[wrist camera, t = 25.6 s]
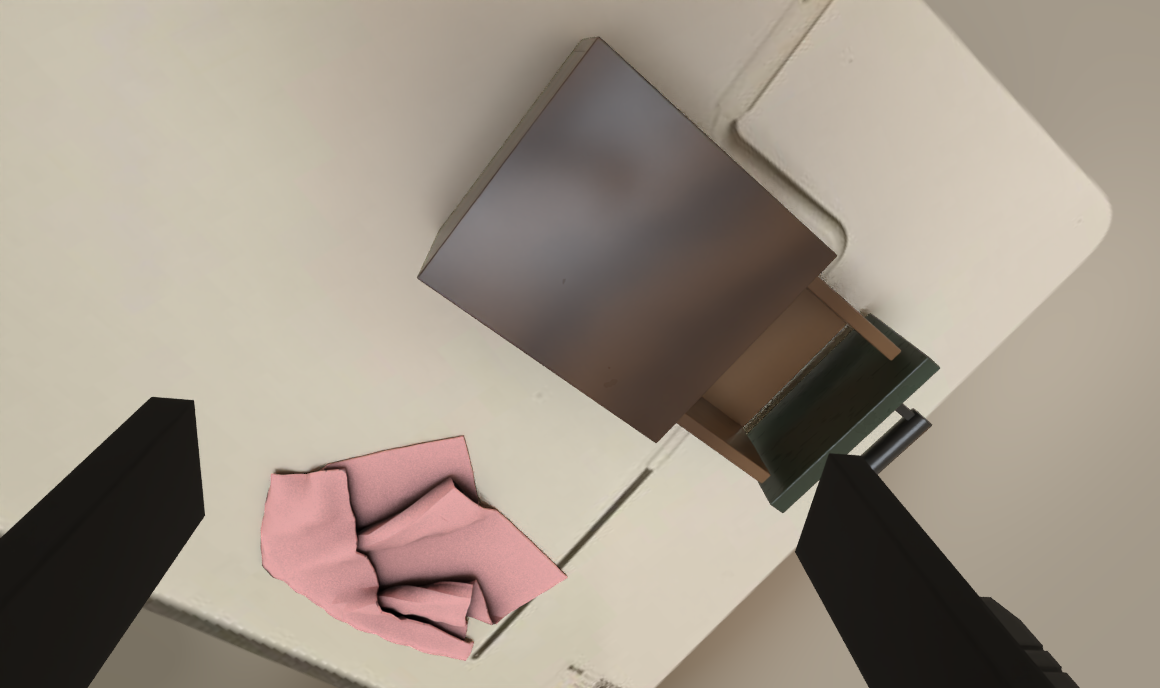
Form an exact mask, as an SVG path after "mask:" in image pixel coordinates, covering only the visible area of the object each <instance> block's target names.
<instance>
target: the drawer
mask: <svg viewBox="0 0 1160 688" xmlns="http://www.w3.org/2000/svg"><path fill="white" fill-rule="evenodd" d="M846 324H848V325H849V326H850V327H851V328H852V329H853V330H852V331H851V332H850V333H849V334H848V335H847V336H846V337H845V338H844V339H843V340H842V341H841V342H840V343H839V344H838V345H837V346H836V347H835V348H834V349H833V350H832V351H831V352H830V353H829V354H828V355H827V356H826V357H825V358H824V359H823V360H822V361H821V362H820V363H819V364H818V365H817V366H816V367H815V368H814V369H813V370H812V371H811V372H810V373H809V374H808V375H807V376H806V377H805V378H804V379H803V380H802V381H801V382H799V383H798V384H797V385H796V386H795V387H794V388H793V389H792V390H791V391H790V392H789V393H788V394H787V395H786V396H785V397H784V398H783V399H782V400H781V401H780V402H779V403H778V404H777V405H776V406H775V407H774V408H773V409H772V410H771V411H770V412H769V413H768V414H767V415H766V416H765V417H764V418H763V419H762V420H761V421H760V422H759V423H758V424H757V425H756V426H755V427H754V428H753V429H752V430H751V431H750V432H749V433H748V434H746V432H745V430H744V428H743V427H744V426H745V425H746V424H747V423H748V422H749V421H750V420H751V419H752V418H753V417H754V416H755V415H756V414H757V413H758V412H759V411H760V410H761V409H762V408H763V407H764V406H765V405H766V404H767V403H768V402H769V401H770V400H771V399H772V398H773V397H774V396H775V395H776V394H777V393H778V392H779V391H780V390H781V389H782V388H783V387H784V386H785V385H786V384H787V383H788V382H789V381H790V380H791V379H792V378H793V377H794V376H795V375H796V374H797V373H798V372H799V371H800V370H801V369H802V368H803V367H804V366H805V365H806V364H807V363H808V362H809V361H810V360H811V359H812V358H813V357H814V356H815V355H816V354H817V353H818V352H819V351H820V350H821V349H822V348H823V347H824V346H825V345H826V344H827V343H828V342H829V341H830V340H831V339H832V338H833V337H834V336H835V335H836V334H837V333H838V332H839V331H840V330H841V329H842V328H843V327H844V326H845V325H846ZM939 369H940V367H939V366H938V365H937V364H936V363H935V362H934V361H933V360H932V359H931V358H929V357H928V356H927V355H926V354H924V353H923V352H922V351H920V350H919V349H918V348H916V347H915V346H914V345H912V344H911V343H910V342H908V341H907V340H906V339H905V338H903V337H902V336H901V335H899V334H898V333H897V332H895V331H894V330H893V329H891V328H890V327H889V326H887V325H886V324H885V323H883V322H882V321H881V320H879V319H878V318H877V317H875V316H874V315H873V314H871V313H870V314H868V315H867V316H866V317H863V316H862V315H861V314H860V313H859V312H858V311H857V310H856V309H854V308H853V307H852V306H851V305H850V304H849V303H848V302H847V301H845V300H844V299H843V298H842V297H841V296H840V295H839V294H838V293H837V292H835V291H834V290H833V289H832V288H831V287H830V286H829V285H828V284H826V283H825V282H824V281H823V280H822V279H821V278H820V277H819V276H817V277H816V278H815V280H814V281H813V282H812V283H811V284H810V285H809V286H808V287H807V288H806V289H805V290H804V291H803V292H802V293H801V294H800V295H799V296H798V297H797V298H796V299H795V300H794V301H793V302H792V303H791V304H790V305H789V306H788V307H787V309H786V310H785V311H784V312H783V313H782V314H781V315H780V316H779V317H778V318H777V319H776V320H775V321H774V322H773V323H772V324H771V325H770V326H769V327H768V328H767V329H766V330H765V331H764V332H763V333H762V334H761V335H760V337H759V338H758V339H757V340H756V341H755V342H754V343H753V344H752V345H751V346H750V347H749V348H748V349H747V350H746V351H745V352H744V353H743V354H742V355H741V356H740V357H739V358H738V359H737V360H736V361H735V362H734V363H733V364H732V366H731V367H730V368H729V369H728V370H727V371H726V372H725V373H724V374H723V375H722V376H721V377H720V378H719V379H718V380H717V381H716V382H715V383H714V384H713V385H712V386H711V387H710V388H709V389H708V390H707V391H706V392H705V394H704V395H703V396H702V397H701V398H700V399H699V400H698V401H697V402H696V403H695V404H694V405H693V406H692V407H691V408H690V409H689V410H688V411H687V412H686V413H685V414H684V415H683V416H682V417H681V418H680V419H679V420H678V421H677V424H679V425H680V426H681V427H683V428H684V429H686V430H687V431H688V432H690V433H691V434H693V435H694V436H695V437H697V438H698V439H700V440H701V441H703V442H704V443H705V444H707V445H708V446H710V447H711V448H712V449H714V450H715V451H717V452H718V453H719V454H721V455H722V456H724V457H725V458H726V459H728V460H729V461H731V462H732V463H733V464H735V465H736V466H738V467H739V468H740V469H742V470H743V471H745V472H746V473H747V474H749V475H750V476H752V477H753V478H754V479H756V480H757V481H758V483H759V485H760V487H761V488H762V490H763V492H764V494H765V496H766V498H767V499H768V501H769V503H770V505H772V506H773V507H775V508H776V509H777V510H779V511H780V512H782V513H784V512H785V511H786V510H787V509H788V508H789V507H790V506H792V505H793V504H794V503H795V502H796V501H797V500H798V499H799V498H800V497H801V496H802V495H804V494H805V493H806V492H807V491H808V490H809V489H810V488H811V487H812V486H813V485H814V484H815V483H817V482H818V481H819V480H820V478H821V475H822V472H823V469H824V466H825V463H826V460H827V457H828V454H829V453H834V454H846V455H847V454H848V453H849V452H850V451H851V450H852V449H853V448H854V447H856V446H857V445H858V444H859V443H860V442H861V441H862V440H863V439H864V438H865V437H866V436H867V435H869V434H870V433H871V432H872V431H873V430H874V429H875V428H876V427H877V426H878V425H879V424H881V423H882V422H883V421H884V420H885V419H886V418H887V417H888V416H889V415H890V414H891V413H892V412H894V411H896V412H898V413H899V414H900V415H901V416H902V418H901V419H900V420H899V421H898V422H897V423H896V424H895V425H894V426H892V427H891V428H890V429H889V430H888V431H887V432H886V433H885V434H884V435H883V436H882V437H880V438H879V439H878V440H877V441H876V442H875V443H874V444H873V445H872V446H871V447H869V448H868V449H867V450H866V451H865V452H864V453H863V454H862V455H861V456H862V457H863V458H864V459H865V461H866V462H867V463H868V464H869V465H870V467H871V468H872V469H873V470H874V471H875V473H876V474H877V475H878V474H879V473H880V472H881V471H882V470H883V469H884V468H885V467H886V466H887V465H889V464H890V463H891V462H892V461H893V460H894V459H895V458H896V457H898V456H899V455H900V454H901V453H902V452H903V451H904V450H906V449H907V448H908V447H909V446H910V445H911V444H912V443H913V442H914V441H915V440H917V439H918V438H919V437H920V436H921V435H922V434H923V433H924V432H926V431H927V430H928V429H929V428H930V427H931V426H932V424H931V423H930V422H929V421H928V420H927V419H926V418H925V417H923V416H922V415H921V414H920V413H919V412H918V411H916V410H915V409H914V408H912V409H911V410H910V409H909V408H908V407H906V406H905V405H904V404H903V402H904V401H905V400H907V399H908V398H909V397H910V396H911V395H912V394H913V393H914V392H915V391H916V390H917V389H918V388H920V387H921V386H922V385H923V384H924V383H925V382H926V381H927V380H928V379H929V378H930V377H931V376H933V375H934V374H935V373H936V372H937V371H938V370H939Z"/></svg>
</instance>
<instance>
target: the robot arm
mask: <svg viewBox="0 0 1160 688" xmlns="http://www.w3.org/2000/svg"><path fill="white" fill-rule="evenodd" d="M204 516H205V510H204V500H203V489H202V479H201V469H200V458H199V448H198V437H197V427H196V417H195V406H194V400H184V399H172V398H160V397H151V398H150V399H149V400H148V401H147V402H146V403H144V404H143V405H142V406H141V407H140V408H139V409H138V410H137V411H136V412H135V413H134V414H133V415H132V416H131V417H129V418H128V419H127V420H126V421H125V422H124V423H123V424H122V425H121V426H120V427H119V428H118V429H117V430H116V431H115V432H113V433H112V434H111V435H110V436H109V437H108V438H107V439H106V440H105V441H104V442H103V443H102V444H101V445H100V446H99V447H97V448H96V449H95V450H94V451H93V452H92V453H91V454H90V455H89V456H88V457H87V458H86V459H85V460H84V461H82V462H81V463H80V464H79V465H78V466H77V467H76V468H75V469H74V470H73V471H72V472H71V473H70V474H69V475H68V476H66V477H65V478H64V479H63V480H62V481H61V482H60V483H59V484H58V485H57V486H56V487H55V488H54V489H53V490H51V491H50V492H49V493H48V494H47V495H46V496H45V497H44V498H43V499H42V500H41V501H40V502H39V503H38V504H37V505H35V506H34V507H33V508H32V509H31V510H30V511H29V512H28V513H27V514H26V515H25V516H24V517H23V518H22V519H20V520H19V521H18V522H17V523H16V524H15V525H14V526H13V527H12V528H11V529H10V530H9V531H8V532H7V533H6V534H4V535H3V536H2V537H1V538H0V688H88V686H89V685H90V683H91V682H92V680H93V679H94V678H95V676H96V674H97V673H98V672H99V670H100V669H101V667H102V666H103V664H104V663H105V661H106V660H107V658H108V657H109V655H110V654H111V653H112V651H113V650H114V648H115V647H116V645H117V644H118V642H119V641H120V639H121V638H122V636H123V635H124V633H125V632H126V630H127V629H128V628H129V626H130V624H131V623H132V622H133V620H134V619H135V617H136V616H137V614H138V613H139V611H140V610H141V609H142V607H143V606H144V604H145V603H146V601H147V600H148V598H149V597H150V595H151V594H152V592H153V591H154V589H155V588H156V587H157V585H158V584H159V582H160V581H161V579H162V578H163V576H164V575H165V573H166V572H167V570H168V569H169V567H170V566H171V565H172V563H173V562H174V560H175V559H176V557H177V556H178V554H179V553H180V551H181V550H182V548H183V547H184V545H185V544H186V543H187V541H188V540H189V538H190V537H191V535H192V534H193V532H194V531H195V529H196V528H197V526H198V525H199V523H200V522H201V521H202V519H203V518H204ZM795 553H796V555H797V556H798V558H799V560H800V562H801V563H802V566H803V567H804V569H805V571H806V573H807V575H808V577H809V578H810V580H811V582H812V584H813V586H814V587H815V589H816V591H817V593H818V595H819V597H820V598H821V600H822V602H823V604H824V606H825V608H826V610H827V611H828V613H829V615H830V617H831V619H832V621H833V622H834V624H835V626H836V628H837V630H838V632H839V633H840V635H841V637H842V639H843V641H844V643H845V644H846V646H847V648H848V650H849V652H850V654H851V655H852V657H853V659H854V661H855V663H856V664H857V667H858V668H859V670H860V672H861V674H862V676H863V678H864V679H865V681H866V683H867V685H868V687H869V688H1079V686H1077V684H1076V683H1075V682H1074V681H1073V680H1072V678H1071V677H1070V676H1069V675H1068V674H1067V673H1063V672H1062V670H1061V668H1062V667H1061V666H1060V665H1059V664H1058V662H1057V661H1056V660H1055V659H1054V658H1053V657H1052V656H1051V654H1050V653H1049V652H1048V651H1044V650H1043V645H1042V644H1041V643H1040V642H1039V641H1038V640H1037V639H1036V637H1035V636H1034V635H1033V634H1032V633H1031V632H1030V631H1029V629H1028V628H1027V627H1026V626H1025V625H1024V624H1023V622H1022V621H1021V620H1019V619H1018V618H1017V617H1016V616H1014V615H1013V614H1012V613H1010V612H1009V611H1008V610H1007V609H1005V608H1004V607H1003V606H1001V605H1000V604H999V603H997V602H996V601H995V600H993V599H992V598H991V597H979V596H978V595H977V593H976V592H975V591H974V590H973V588H972V587H971V586H970V585H969V584H968V582H967V581H966V580H965V579H964V578H963V577H962V575H961V574H960V573H959V572H958V571H957V569H956V568H955V567H954V566H953V565H952V563H951V562H950V561H949V560H948V559H947V557H946V556H945V555H944V554H943V553H942V551H941V550H940V549H939V548H938V547H937V545H936V544H935V543H934V542H933V541H932V539H931V538H930V537H929V536H928V535H927V533H926V532H925V531H924V530H923V529H922V528H921V527H920V525H919V524H918V523H917V522H916V520H915V519H914V518H913V517H912V516H911V514H910V513H909V512H908V511H907V510H906V508H905V507H904V506H903V505H902V504H901V502H900V501H899V500H898V499H897V498H896V496H895V495H894V494H893V493H892V492H891V491H890V489H889V488H888V487H887V486H886V485H885V483H884V482H883V481H882V480H881V479H880V477H879V476H878V475H877V474H876V473H875V471H874V470H873V469H872V468H871V467H870V465H869V464H868V463H867V462H866V461H865V459H864V458H863V457H862V456H858V455H846V454H834V453H829V454H828V457H827V460H826V463H825V466H824V469H823V472H822V475H821V478H820V481H819V484H818V487H817V489H816V492H815V495H814V498H813V501H812V504H811V507H810V510H809V513H808V516H807V519H806V521H805V524H804V527H803V530H802V533H801V536H800V539H799V542H798V545H797V548H796V551H795Z"/></svg>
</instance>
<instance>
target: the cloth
mask: <svg viewBox="0 0 1160 688" xmlns="http://www.w3.org/2000/svg"><path fill="white" fill-rule="evenodd" d="M261 553H262V566H263V567H264V568H265V570H266V571H267V572H268V573H269V574H270V575H271V576H272V577H273V578H276V579H279V580H282V581H284V582H285V583H287V584H288V585H289V586H290V587H291V588H292V589H293V590H294V591H295V592H297V593H299V594H302V595H305V596H306V597H307V598H308V599H309V600H311V601H312V602H313V603H315V604H316V605H318V606H320V607H322V608H323V609H325V611H326V612H327V613H328V614H329V615H331V616H332V617H334V618H335V619H338V620H340V621H342V622H345V623H348V624H349V625H351V626H352V627H354V628H355V629H357V630H360V631H363V632H367V633H372V634H377V635H379V636H380V637H382V638H384V639H385V640H387V641H390V642H393V643H396V644H400V645H405V646H411V647H413V648H414V649H416V650H419V651H421V652H424V653H428V654H433V655H440V656H446V657H451V658H455V659H459V660H464V661H466V660H467V658H468V656H469V655H470V653H471V650H472V647H473V644H474V642H468V643H467V642H465V636H466V631H467V624H468V622H467V621H465V616H469V617H473V618H475V619H478V620H480V621H483V622H485V623H488V624H490V625H493V624H497V623H498V622H499V621H500V620H501V619H502V618H503V617H505V616H506V615H507V614H509V613H510V612H512V611H513V610H515V609H517V608H518V607H520V606H522V605H523V604H525V603H527V602H528V601H530V600H532V599H533V598H535V597H537V596H538V595H540V594H542V593H544V592H545V591H547V590H549V589H550V588H552V587H553V586H555V585H556V584H558V583H560V582H561V581H563V580H565V579H566V578H567V576H566V575H565V574H564V573H563V572H562V571H561V570H560V569H559V568H558V567H557V566H556V565H555V564H554V563H553V562H552V561H551V560H550V559H549V558H548V557H547V556H546V555H545V554H544V553H543V552H542V551H541V550H540V549H539V548H537V547H536V546H535V545H534V544H533V543H532V542H531V541H530V540H529V539H528V538H527V537H526V536H525V535H524V534H523V533H522V532H521V531H519V530H518V529H517V528H516V527H515V526H514V525H513V524H512V523H511V522H510V521H509V520H508V519H507V518H506V517H504V516H503V515H502V514H501V513H500V512H498V511H497V510H494V509H489V508H483V507H481V506H479V500H478V495H477V491H476V487H475V483H474V476H473V471H472V467H471V462H470V458H469V454H468V450H467V447H466V443H465V439H464V436H459V437H454V438H448V439H443V440H437V441H432V442H426V443H421V444H416V445H411V446H407V447H401V448H395V449H390V450H385V451H380V452H377V453H373V454H369V455H365V456H361V457H356V458H351V459H347V460H343V461H338V462H334V463H329V464H327V465H326V466H325V467H323V468H322V469H320V470H319V471H318V472H313V473H309V474H288V475H279V474H276V473H275V474H271V485H270V488H269V491H268V494H267V498H266V502H265V513H264V517H263V520H262V526H261Z"/></svg>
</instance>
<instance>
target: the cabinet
mask: <svg viewBox="0 0 1160 688" xmlns="http://www.w3.org/2000/svg"><path fill="white" fill-rule="evenodd" d="M836 257H837V255H836V254H835V253H834V252H833V251H832V250H831V249H830V248H829V247H828V246H827V245H825V244H824V243H823V242H822V241H821V240H820V239H819V238H818V237H817V236H816V235H815V234H814V233H812V232H811V231H810V230H809V229H808V228H807V227H806V226H805V225H804V224H803V223H802V222H800V221H799V220H798V219H797V218H796V217H795V216H794V215H793V214H792V213H791V212H790V211H788V210H787V209H786V208H785V207H784V206H783V205H782V204H781V203H780V202H779V201H778V200H777V199H775V198H774V197H773V196H772V195H771V194H770V193H769V192H768V191H767V190H766V189H765V188H763V187H762V186H761V185H760V184H759V183H758V182H757V181H756V180H755V179H754V178H753V177H751V176H750V175H749V174H748V173H747V172H746V171H745V170H744V169H743V168H742V167H741V166H740V165H738V164H737V163H736V162H735V161H734V160H733V159H732V158H731V157H730V156H729V155H728V154H726V153H725V152H724V151H723V150H722V149H721V148H720V147H719V146H718V145H717V144H716V143H714V142H713V141H712V140H711V139H710V138H709V137H708V136H707V135H706V134H705V133H704V132H703V131H701V130H700V129H699V128H698V127H697V126H696V125H695V124H694V123H693V122H692V121H691V120H689V119H688V118H687V117H686V116H685V115H684V114H683V113H682V112H681V111H680V110H679V109H677V108H676V107H675V106H674V105H673V104H672V103H671V102H670V101H669V100H668V99H667V98H666V97H664V96H663V95H662V94H661V93H660V92H659V91H658V90H657V89H656V88H655V87H654V86H652V85H651V84H650V83H649V82H648V81H647V80H646V79H645V78H644V77H643V76H642V75H640V74H639V73H638V72H637V71H636V70H635V69H634V68H633V67H632V66H631V65H630V64H629V63H627V62H626V61H625V60H624V59H623V58H622V57H621V56H620V55H619V54H618V53H617V52H615V51H614V50H613V49H612V48H611V47H610V46H609V45H608V44H607V43H606V42H605V41H603V40H602V39H601V38H600V37H592V38H586V39H582V40H581V41H580V42H579V43H578V45H577V46H576V47H575V49H574V50H573V51H572V53H571V54H570V56H569V57H568V58H567V60H566V61H565V62H564V64H563V65H562V66H561V68H560V69H559V70H558V72H557V73H556V74H555V76H554V77H553V78H552V80H551V81H550V82H549V84H548V85H547V86H546V88H545V89H544V90H543V92H542V93H541V94H540V96H539V97H538V99H537V100H536V101H535V103H534V104H533V105H532V107H531V108H530V109H529V111H528V112H527V113H526V115H525V116H524V117H523V119H522V120H521V121H520V123H519V124H518V125H517V127H516V128H515V129H514V131H513V132H512V133H511V135H510V136H509V138H508V139H507V140H506V142H505V143H504V144H503V146H502V147H501V148H500V150H499V151H498V152H497V154H496V155H495V156H494V158H493V159H492V160H491V162H490V163H489V164H488V166H487V167H486V168H485V170H484V171H483V172H482V174H481V175H480V176H479V178H478V179H477V181H476V182H475V183H474V185H473V186H472V187H471V189H470V190H469V191H468V193H467V194H466V195H465V197H464V198H463V199H462V201H461V202H460V203H459V205H458V206H457V207H456V209H455V210H454V211H453V213H452V214H451V215H450V217H449V218H448V220H447V221H446V222H445V224H444V225H443V226H442V228H441V229H440V230H439V232H438V233H437V236H436V238H435V240H434V242H433V244H432V246H431V248H430V251H429V253H428V255H427V257H426V259H425V261H424V264H423V266H422V268H421V270H420V272H419V274H418V277H417V278H418V279H419V280H420V281H422V282H423V283H425V284H426V285H428V286H429V287H430V288H432V289H433V290H435V291H436V292H438V293H439V294H441V295H442V296H443V297H445V298H446V299H448V300H449V301H451V302H452V303H454V304H455V305H456V306H458V307H459V308H461V309H462V310H464V311H465V312H467V313H468V314H470V315H471V316H472V317H474V318H475V319H477V320H478V321H480V322H481V323H483V324H484V325H485V326H487V327H488V328H490V329H491V330H493V331H494V332H496V333H497V334H498V335H500V336H501V337H503V338H504V339H506V340H507V341H509V342H510V343H511V344H513V345H514V346H516V347H517V348H519V349H520V350H522V351H523V352H525V353H526V354H527V355H529V356H530V357H532V358H533V359H535V360H536V361H538V362H539V363H540V364H542V365H543V366H545V367H546V368H548V369H549V370H551V371H552V372H553V373H555V374H556V375H558V376H559V377H561V378H562V379H564V380H565V381H567V382H568V383H569V384H571V385H572V386H574V387H575V388H577V389H578V390H580V391H581V392H582V393H584V394H585V395H587V396H588V397H590V398H591V399H593V400H594V401H595V402H597V403H598V404H600V405H601V406H603V407H604V408H606V409H607V410H609V411H610V412H611V413H613V414H614V415H616V416H617V417H619V418H620V419H622V420H623V421H624V422H626V423H627V424H629V425H630V426H632V427H633V428H635V429H636V430H637V431H639V432H640V433H642V434H643V435H645V436H646V437H648V438H649V439H651V440H652V441H653V442H655V443H657V442H658V441H659V440H660V439H661V438H662V437H663V436H664V435H665V434H666V433H667V432H668V431H669V430H670V429H671V428H672V427H673V426H674V425H675V424H676V423H677V421H678V420H679V419H680V418H681V417H682V416H683V415H684V414H685V413H686V412H687V411H688V410H689V409H690V408H691V407H692V406H693V405H694V404H695V403H696V402H697V401H698V400H699V399H700V398H701V397H702V396H703V395H704V394H705V392H706V391H707V390H708V389H709V388H710V387H711V386H712V385H713V384H714V383H715V382H716V381H717V380H718V379H719V378H720V377H721V376H722V375H723V374H724V373H725V372H726V371H727V370H728V369H729V368H730V367H731V366H732V364H733V363H734V362H735V361H736V360H737V359H738V358H739V357H740V356H741V355H742V354H743V353H744V352H745V351H746V350H747V349H748V348H749V347H750V346H751V345H752V344H753V343H754V342H755V341H756V340H757V339H758V338H759V337H760V335H761V334H762V333H763V332H764V331H765V330H766V329H767V328H768V327H769V326H770V325H771V324H772V323H773V322H774V321H775V320H776V319H777V318H778V317H779V316H780V315H781V314H782V313H783V312H784V311H785V310H786V309H787V307H788V306H789V305H790V304H791V303H792V302H793V301H794V300H795V299H796V298H797V297H798V296H799V295H800V294H801V293H802V292H803V291H804V290H805V289H806V288H807V287H808V286H809V285H810V284H811V283H812V282H813V281H814V280H815V278H816V277H817V276H818V275H819V274H820V273H821V272H822V271H823V270H824V269H825V268H826V267H827V266H828V265H829V264H830V263H831V262H832V261H833V260H834V259H835V258H836Z"/></svg>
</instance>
